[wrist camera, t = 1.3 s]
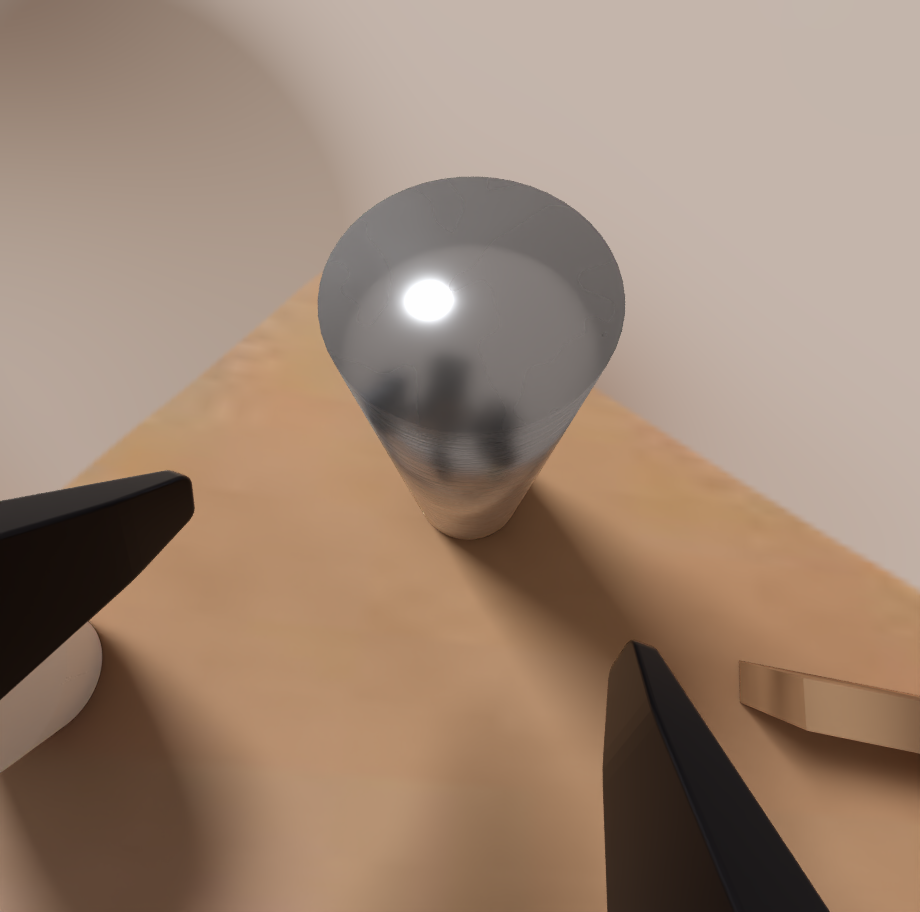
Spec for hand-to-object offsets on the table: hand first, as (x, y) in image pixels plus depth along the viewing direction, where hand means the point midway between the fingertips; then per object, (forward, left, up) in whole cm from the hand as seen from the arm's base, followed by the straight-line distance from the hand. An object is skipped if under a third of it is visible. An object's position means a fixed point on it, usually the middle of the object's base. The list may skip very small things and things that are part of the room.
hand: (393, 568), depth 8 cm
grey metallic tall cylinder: (+4, -2, -11) cm, 12 cm away
